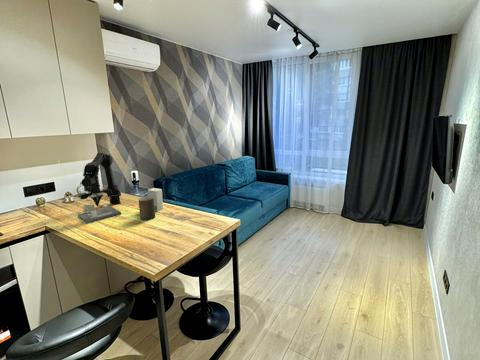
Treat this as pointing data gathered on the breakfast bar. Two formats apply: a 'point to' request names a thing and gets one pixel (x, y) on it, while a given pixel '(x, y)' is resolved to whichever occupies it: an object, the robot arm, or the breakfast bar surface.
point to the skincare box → (156, 198)
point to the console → (99, 215)
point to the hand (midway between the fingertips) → (97, 205)
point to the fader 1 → (93, 214)
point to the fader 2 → (105, 207)
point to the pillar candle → (146, 208)
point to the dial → (88, 208)
